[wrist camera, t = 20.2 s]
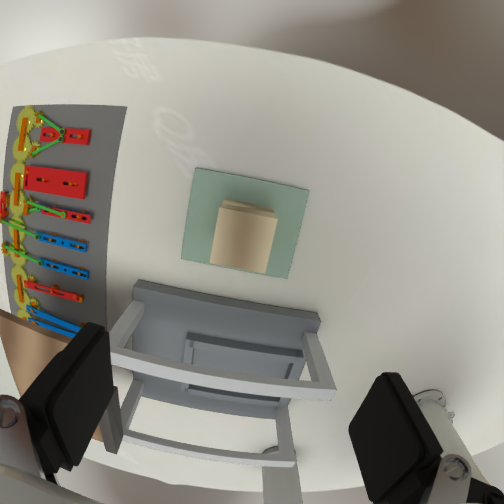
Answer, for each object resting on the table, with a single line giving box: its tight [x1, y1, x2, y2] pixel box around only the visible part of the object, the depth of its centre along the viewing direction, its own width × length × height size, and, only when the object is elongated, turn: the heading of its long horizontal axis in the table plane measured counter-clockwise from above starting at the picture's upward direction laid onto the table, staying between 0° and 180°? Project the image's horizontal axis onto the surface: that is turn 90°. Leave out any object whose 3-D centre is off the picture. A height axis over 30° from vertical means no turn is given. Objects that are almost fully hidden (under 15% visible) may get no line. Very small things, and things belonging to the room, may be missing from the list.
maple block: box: [209, 198, 278, 274], centre depth 28 cm, size 5×5×6 cm
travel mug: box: [262, 447, 303, 504], centre depth 35 cm, size 6×7×20 cm
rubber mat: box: [181, 168, 309, 279], centre depth 32 cm, size 12×10×1 cm
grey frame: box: [109, 280, 337, 467], centre depth 32 cm, size 22×18×12 cm
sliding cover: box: [0, 309, 124, 454], centre depth 23 cm, size 15×15×4 cm
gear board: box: [0, 105, 127, 338], centre depth 33 cm, size 45×2×19 cm
